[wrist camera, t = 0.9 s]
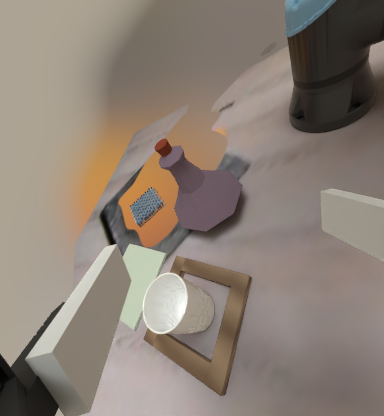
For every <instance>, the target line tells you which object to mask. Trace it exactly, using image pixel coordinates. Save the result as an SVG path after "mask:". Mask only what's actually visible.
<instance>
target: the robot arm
mask: <svg viewBox="0 0 384 416" xmlns="http://www.w3.org/2000/svg"><path fill="white" fill-rule="evenodd" d="M285 21H286V30H285V34H286V36H287V38H288V45H289V52H290V59H291V67H292V75H293V81H294V88H293V93H292V97H291V102H290V107H289V116H290V121H291V124H292V125H293V126H294V127H295V128H297V129H299V130H301V131H305V132H325V131H330V130H334V129H338V128H341V127H343V126H346V125H348V124H350V123H352V122H354V121H356V120H357V119H359V118H360V117H362V116H363V115H364V114H365V113H367V112H368V111H369V109H370V108H371V107H372V105H373V103H374V101H375V95H376V82H375V79H374V76H373V73H372V70H371V67H370V64H369V60H368V59H369V51H370V46H371V45H373V44H376V43H378V42H381V41H384V0H286V2H285ZM320 192H321V220H322V231H324V232H326V233H328V234H330V235H332V236H334V237H336V238H338V239H340V240H342V241H343V242H345V243H347V244H349V245H351V246H353V247H355V248H357V249H359V250H361V251H363V252H365V253H367V254H368V255H370V256H372V257H374V258H376V259H378V260H380V261H382V262H384V200H382V199H378V198H373V197H369V196H364V195H360V194H356V193H351V192H347V191H342V190H338V189H333V188H331V189H327V190H323V191H320ZM130 284H131V278H130V275H129V273H128V270H127V268H126V265H125V263H124V260H123V258H122V255H121V253H120V250H119V248H118V245H117V244H115V245H111V246H108V247H105V248H104V249H103V250H102V252H101V253H100V255H99V256H98V257H97V259H96V260H95V262H94V263H93V264H92V266H91V267H90V269H89V270H88V272H87V273H86V274H85V276H84V277H83V279H82V280H81V281H80V283H79V284H78V286H77V287H76V288H75V290H74V291H73V293H72V294H71V295H70V297H69V299H68V300H67V301H66V302H63V303H62V304H61V305H60V306H59V307H58V308H56V309H55V310H54V311H53V312H52V313H51V314H50V316H49V317H48V318H47V320H46V321H45V322H44V325H43V326H41V328H40V329H39V330H38V332H37V335H35V336H34V337H33V338H32V340H31V341H30V342H29V344H28V345H27V346H26V348H25V349H24V350H23V352H22V353H21V354H20V356H19V357H18V358H17V360H16V361H15V362H14V364H13V365H12V366H11V368H10V366H9V365H8V364H7V362H6V361H5V359H4V358H3V357H2V356H1V354H0V416H55V414H56V412H57V410H58V408H59V409H60V410H61V412H62V413H63V414H64V416H78V415H82V414H85V413H89V412H90V410H91V407H92V404H93V401H94V398H95V394H96V391H97V388H98V385H99V382H100V379H101V375H102V372H103V369H104V366H105V363H106V360H107V357H108V353H109V350H110V347H111V344H112V341H113V338H114V335H115V331H116V328H117V325H118V322H119V319H120V316H121V313H122V309H123V306H124V303H125V300H126V297H127V294H128V290H129V287H130Z"/></svg>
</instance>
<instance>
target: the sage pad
mask: <svg viewBox="0 0 384 416" xmlns="http://www.w3.org/2000/svg"><path fill="white" fill-rule="evenodd" d="M166 256H167V254H166V253H162V252H159V251H155V250H151V249H148V248H144V247H140V246H137V245H133V244H129V246H128V248H127V250H126V252H125V254H124V256H123V260H124V263H125V265H126V268H127V270H128V273H129V275H130V278H131V284H130V287H129V290H128V294H127V297H126V300H125V303H124V306H123V309H122V313H121V316H120V319H119V320H121V321H122V322H123V323H125V324H126V325H128V326H129V327H130V328H132V329H133V330H136V329H137V326H138V324H139V321H140V319H141V317H142V314H143V311H142V307H143V300H144V296H145V293H146V291H147V289H148V287H149V286H150V284H151V283H152V282H153V280H154V279H156V278H157V277H158V276H159V273H160V271H161V268H162V266H163V264H164V261H165V259H166Z"/></svg>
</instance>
